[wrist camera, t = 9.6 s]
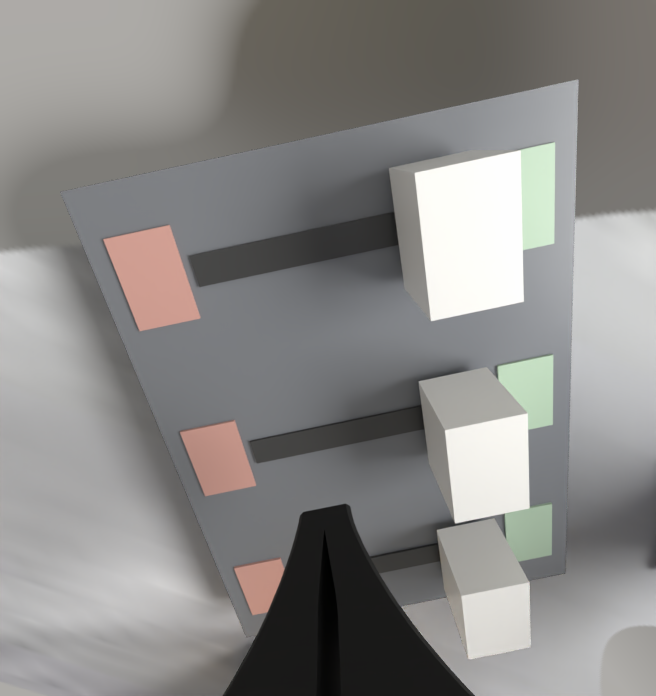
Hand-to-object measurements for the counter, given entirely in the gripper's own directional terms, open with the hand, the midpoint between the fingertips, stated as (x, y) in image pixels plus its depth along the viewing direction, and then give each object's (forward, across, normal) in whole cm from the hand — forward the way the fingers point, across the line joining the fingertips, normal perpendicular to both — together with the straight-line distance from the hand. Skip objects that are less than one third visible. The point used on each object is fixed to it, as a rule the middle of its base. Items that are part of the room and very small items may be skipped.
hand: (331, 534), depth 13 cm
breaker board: (+7, -2, 0) cm, 7 cm away
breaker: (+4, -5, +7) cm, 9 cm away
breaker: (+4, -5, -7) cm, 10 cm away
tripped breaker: (+4, -5, 0) cm, 6 cm away
